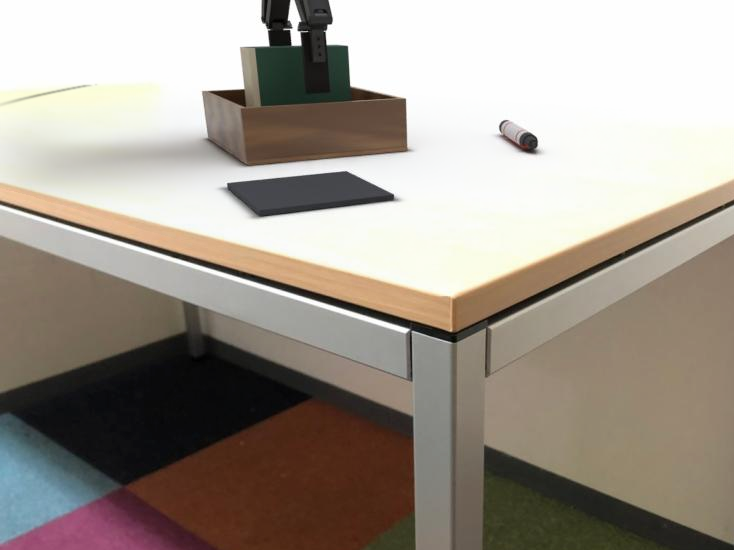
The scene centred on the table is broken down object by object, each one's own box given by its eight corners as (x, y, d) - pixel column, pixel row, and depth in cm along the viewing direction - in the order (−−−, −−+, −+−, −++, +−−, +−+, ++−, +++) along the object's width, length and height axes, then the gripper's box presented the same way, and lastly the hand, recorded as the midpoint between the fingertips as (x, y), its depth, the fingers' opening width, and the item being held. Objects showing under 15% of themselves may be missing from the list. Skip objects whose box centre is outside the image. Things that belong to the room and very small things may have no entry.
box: (207, 138, 98) (201, 90, 96) (345, 128, 106) (343, 84, 104) (247, 165, 81) (240, 108, 78) (407, 150, 89) (406, 98, 87)
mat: (227, 188, 71) (226, 182, 70) (346, 175, 76) (346, 170, 75) (259, 216, 61) (259, 210, 61) (394, 199, 66) (394, 194, 66)
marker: (498, 135, 100) (498, 119, 99) (512, 134, 100) (513, 119, 99) (526, 154, 86) (527, 137, 85) (543, 154, 86) (544, 136, 86)
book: (250, 141, 92) (239, 46, 88) (342, 134, 98) (336, 44, 93) (258, 146, 89) (248, 48, 85) (353, 138, 94) (348, 45, 90)
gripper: (354, -129, 74) (366, 95, 82) (283, -98, 94) (299, 79, 103) (280, -134, 71) (301, 99, 79) (223, -101, 91) (244, 82, 99)
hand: (300, 88), depth 91 cm, fingers open, 13 cm apart
